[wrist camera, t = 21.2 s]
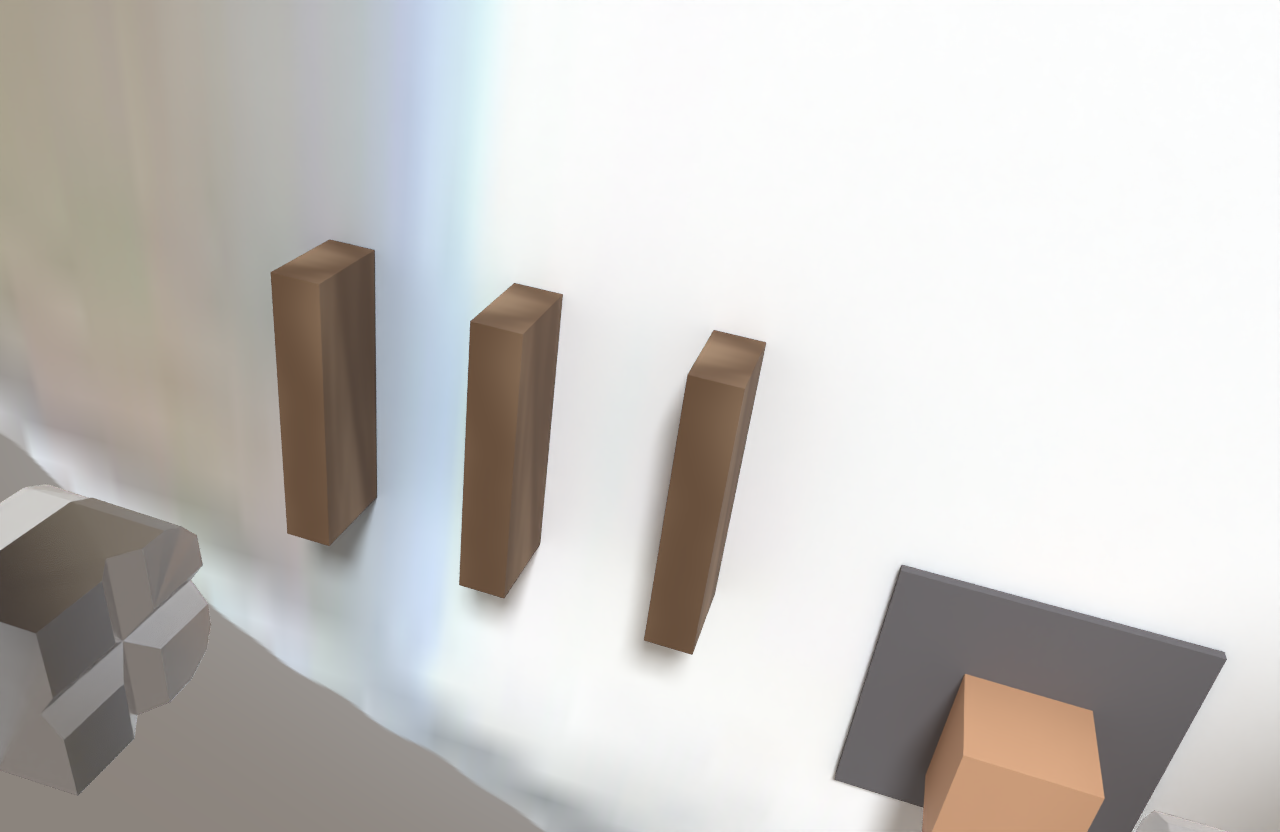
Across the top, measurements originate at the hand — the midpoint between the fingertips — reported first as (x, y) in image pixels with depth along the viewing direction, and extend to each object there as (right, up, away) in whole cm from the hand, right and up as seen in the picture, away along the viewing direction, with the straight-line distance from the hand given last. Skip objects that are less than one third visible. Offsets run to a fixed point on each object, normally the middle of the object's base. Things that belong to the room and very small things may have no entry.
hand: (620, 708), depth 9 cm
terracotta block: (+15, -11, +34) cm, 38 cm away
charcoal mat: (+15, -10, +33) cm, 38 cm away
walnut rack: (-4, +2, +34) cm, 34 cm away
